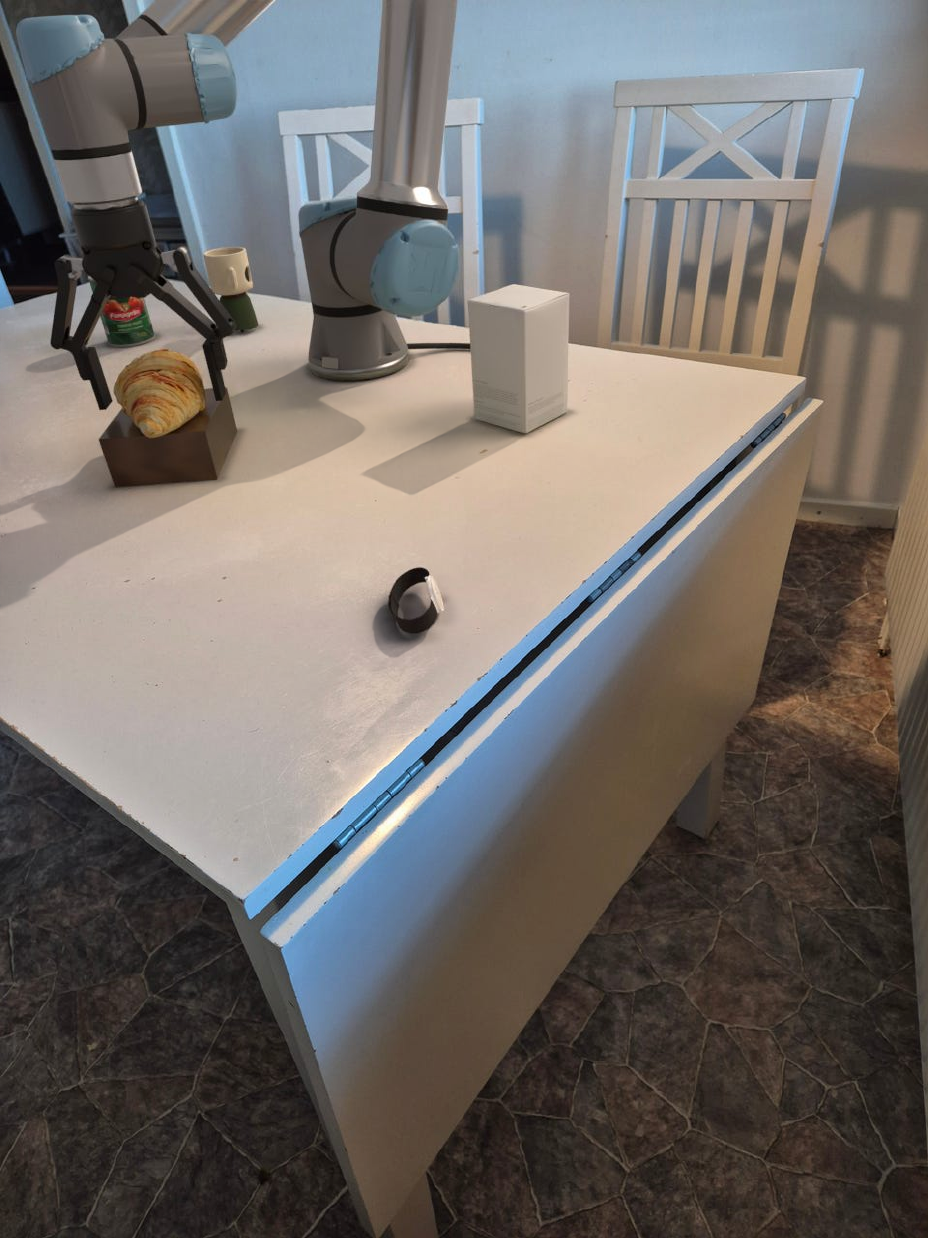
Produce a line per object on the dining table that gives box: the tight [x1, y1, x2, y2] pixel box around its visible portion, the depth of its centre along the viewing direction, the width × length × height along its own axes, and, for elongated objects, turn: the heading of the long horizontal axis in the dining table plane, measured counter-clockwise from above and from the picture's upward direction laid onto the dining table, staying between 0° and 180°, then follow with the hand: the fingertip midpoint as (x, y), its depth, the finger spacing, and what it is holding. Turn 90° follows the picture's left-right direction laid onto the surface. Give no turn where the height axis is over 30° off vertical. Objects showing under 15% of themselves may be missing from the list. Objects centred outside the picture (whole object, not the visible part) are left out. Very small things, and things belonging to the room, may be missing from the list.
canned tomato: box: [87, 275, 156, 348], centre depth 139 cm, size 8×8×11 cm
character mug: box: [202, 246, 260, 333], centre depth 139 cm, size 11×7×13 cm, turn 22°
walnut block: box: [98, 386, 238, 488], centre depth 98 cm, size 12×14×6 cm
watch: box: [388, 567, 444, 635], centre depth 70 cm, size 8×5×4 cm, turn 5°
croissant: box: [113, 348, 206, 438], centre depth 95 cm, size 21×10×8 cm, turn 11°
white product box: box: [467, 283, 570, 434], centre depth 100 cm, size 9×9×15 cm
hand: (163, 401), depth 96 cm, fingers open, 13 cm apart
